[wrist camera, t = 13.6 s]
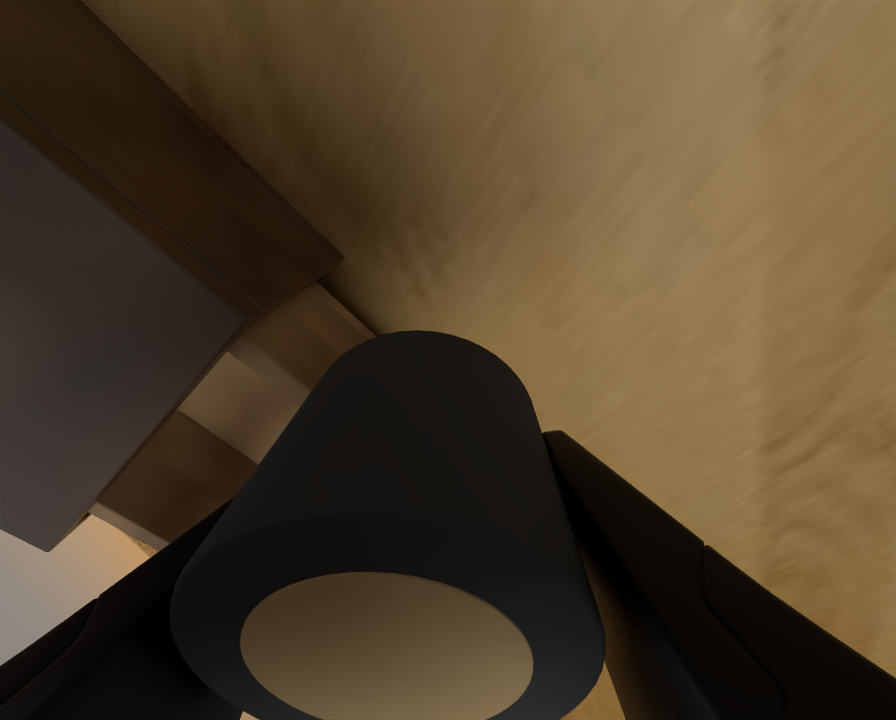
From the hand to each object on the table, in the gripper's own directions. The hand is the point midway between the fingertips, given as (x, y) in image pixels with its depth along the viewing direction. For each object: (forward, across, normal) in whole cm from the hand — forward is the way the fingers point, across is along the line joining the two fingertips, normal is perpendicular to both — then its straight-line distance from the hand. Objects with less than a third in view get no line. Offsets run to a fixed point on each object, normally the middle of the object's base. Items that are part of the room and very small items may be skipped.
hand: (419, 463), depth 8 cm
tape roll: (+1, 0, 0) cm, 1 cm away
